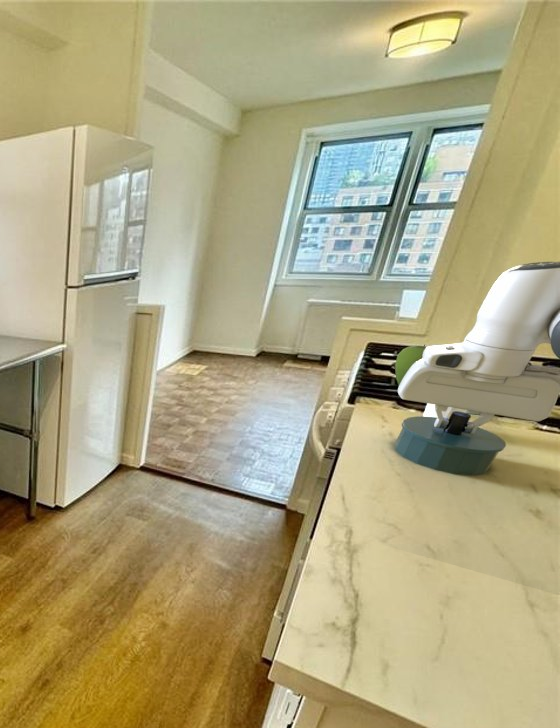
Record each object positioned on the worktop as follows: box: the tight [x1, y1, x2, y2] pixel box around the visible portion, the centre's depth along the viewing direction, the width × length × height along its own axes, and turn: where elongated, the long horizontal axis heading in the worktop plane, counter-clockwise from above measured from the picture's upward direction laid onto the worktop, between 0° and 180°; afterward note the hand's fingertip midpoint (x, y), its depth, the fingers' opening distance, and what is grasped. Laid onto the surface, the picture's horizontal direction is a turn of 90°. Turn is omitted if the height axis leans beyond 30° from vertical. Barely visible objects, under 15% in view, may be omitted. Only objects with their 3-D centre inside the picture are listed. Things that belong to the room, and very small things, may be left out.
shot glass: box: [422, 403, 467, 419], centre depth 106 cm, size 7×7×7 cm
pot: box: [393, 427, 499, 476], centre depth 93 cm, size 14×14×5 cm
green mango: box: [394, 344, 428, 386], centre depth 126 cm, size 9×8×12 cm
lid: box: [401, 411, 507, 453], centre depth 91 cm, size 15×15×5 cm
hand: (453, 429), depth 92 cm, fingers closed on lid, 3 cm apart
